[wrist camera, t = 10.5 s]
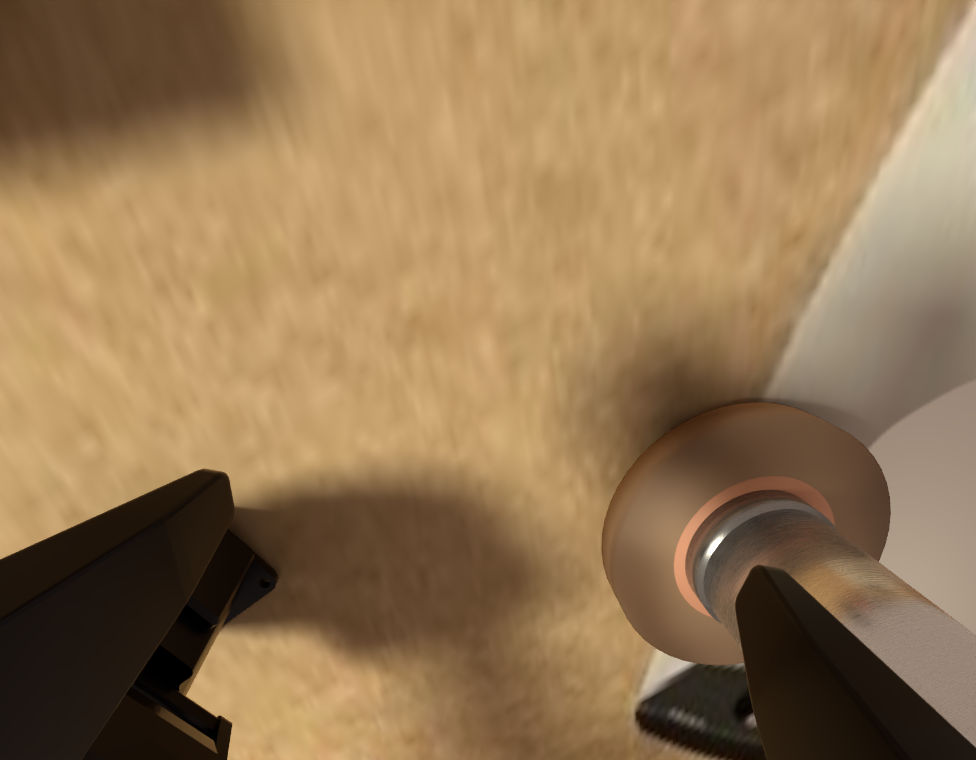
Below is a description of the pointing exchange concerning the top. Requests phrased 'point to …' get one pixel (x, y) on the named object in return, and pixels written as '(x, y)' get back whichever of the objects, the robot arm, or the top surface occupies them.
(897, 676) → the robot arm
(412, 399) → the top surface
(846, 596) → the canister
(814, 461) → the turntable
